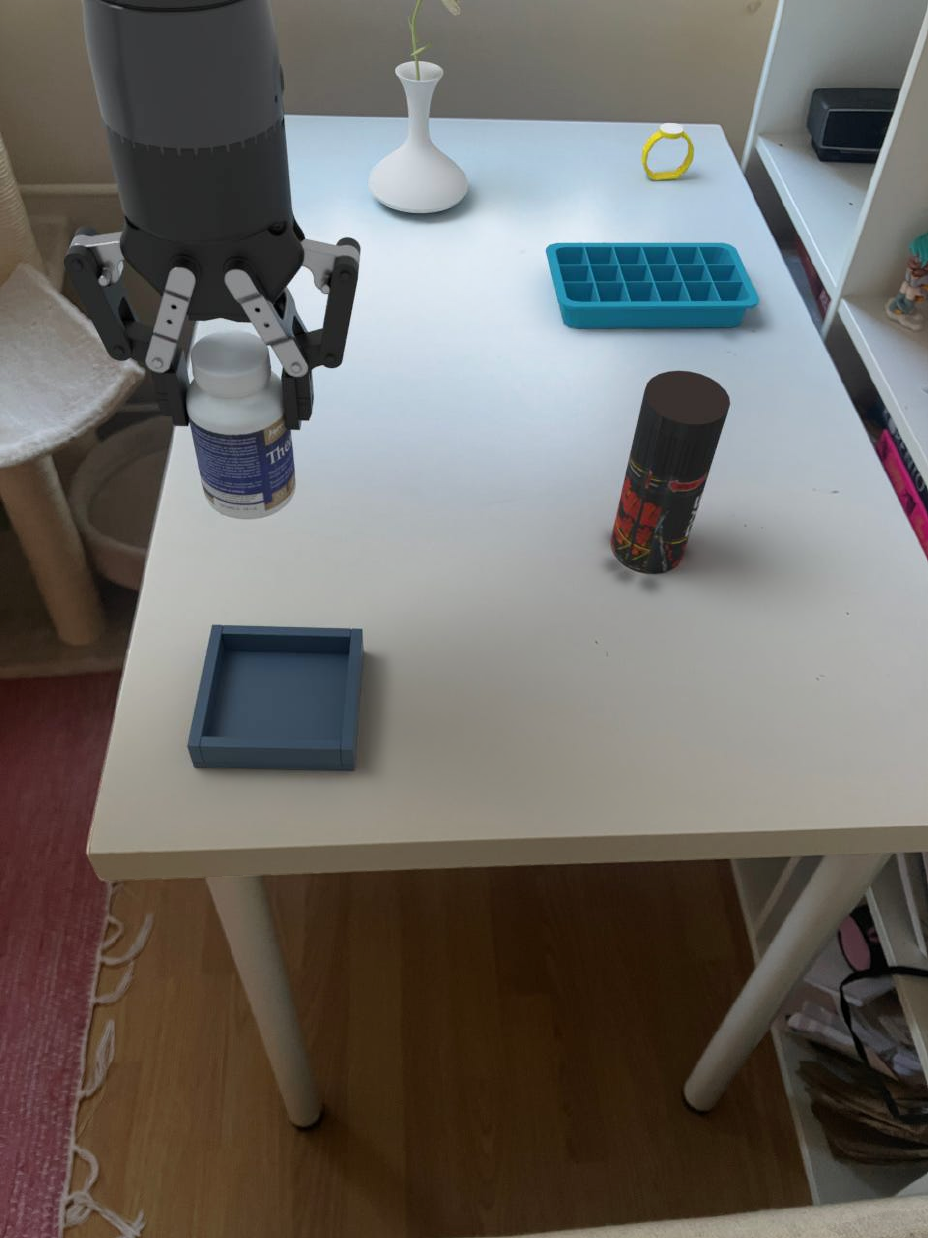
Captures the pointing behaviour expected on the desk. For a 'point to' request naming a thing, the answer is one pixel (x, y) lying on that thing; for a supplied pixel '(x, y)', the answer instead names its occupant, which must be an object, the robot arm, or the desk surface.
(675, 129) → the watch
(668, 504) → the deodorant
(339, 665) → the tray
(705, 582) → the desk surface
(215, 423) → the pill bottle
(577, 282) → the ice cube tray
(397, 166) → the flower in vase
